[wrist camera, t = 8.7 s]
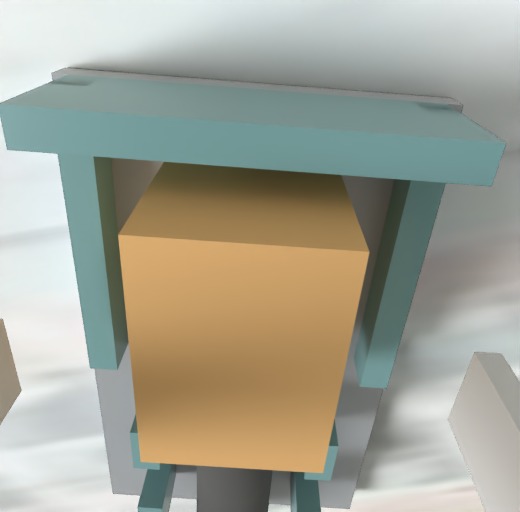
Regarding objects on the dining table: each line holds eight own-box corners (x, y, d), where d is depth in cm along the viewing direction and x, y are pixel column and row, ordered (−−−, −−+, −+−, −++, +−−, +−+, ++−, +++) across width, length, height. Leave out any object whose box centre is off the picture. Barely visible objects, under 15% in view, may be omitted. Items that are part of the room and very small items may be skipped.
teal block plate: (346, 490, 24) (362, 598, 20) (118, 475, 24) (84, 581, 20) (451, 98, 14) (528, 144, 10) (64, 67, 14) (-26, 102, 10)
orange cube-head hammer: (282, 505, 24) (285, 651, 18) (183, 499, 23) (158, 644, 18) (334, 157, 14) (369, 251, 9) (173, 145, 14) (118, 234, 9)
